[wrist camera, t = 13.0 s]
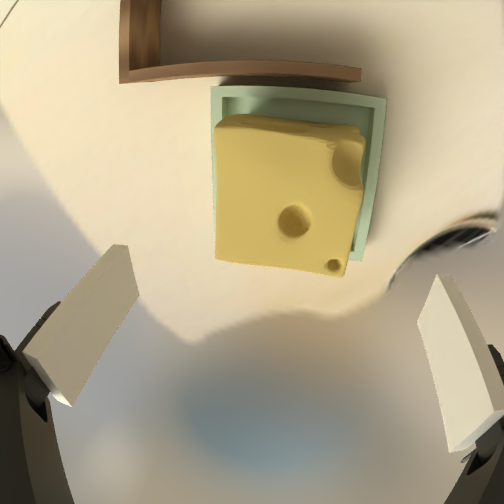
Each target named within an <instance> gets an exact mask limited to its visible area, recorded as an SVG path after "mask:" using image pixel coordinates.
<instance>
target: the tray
mask: <svg viewBox="0 0 504 504" xmlns="http://www.w3.org/2000/svg"><path fill="white" fill-rule="evenodd" d="M386 101H387V99H385V98H379V97H373V96H367V95H361V94H354V93H347V92H339V91H330V90H320V89H309V88H295V87H277V86H211V145H212V182H213V209H214V231H215V241H216V195H217V179H216V161H215V147H214V128H215V126H216V125H217V123H218V122H219V121H221V120H222V119H223V118H225V117H227V116H230V115H236V114H256V115H263V116H270V117H279V118H287V119H295V120H303V121H310V122H317V123H327V124H344V125H352V126H355V127H357V128H358V129H359V131H360V132H359V135H361V136H363V137H364V139H365V148H364V153H363V157H362V162H361V170H360V177H361V182H362V186H363V197H362V203H361V207H360V211H359V215H358V219H357V223H356V228H355V232H354V237H353V241H352V245H351V249H350V254H349V258H348V260H353V261H362V258H363V254H364V249H365V245H366V240H367V235H368V230H369V225H370V220H371V214H372V209H373V203H374V197H375V191H376V185H377V179H378V172H379V165H380V158H381V150H382V142H383V133H384V123H385V113H386Z"/></svg>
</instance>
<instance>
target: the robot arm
mask: <svg viewBox="0 0 504 504" xmlns="http://www.w3.org/2000/svg"><path fill="white" fill-rule="evenodd" d="M138 297H139V292H138V288H137V284H136V280H135V276H134V272H133V267H132V263H131V259H130V254H129V250H128V246H125V245H115V244H113V245H112V246H111V247H110V249H109V250H108V251H107V252H106V253H105V254H104V255H103V256H102V257H101V258H100V259H99V260H98V261H97V262H96V263H95V265H94V266H93V267H92V268H91V269H90V270H89V271H88V272H87V273H86V275H85V276H84V277H83V278H82V279H81V280H80V281H79V282H78V283H77V285H76V286H75V287H74V288H73V289H72V290H71V292H70V293H69V294H68V295H67V296H66V297H65V299H64V300H63V301H62V302H57V303H56V304H54V305H53V306H51V307H50V308H49V309H48V310H47V311H46V312H45V313H44V314H43V316H42V317H41V319H39V321H38V322H37V323H36V326H34V327H33V328H32V329H31V331H30V332H29V333H28V334H27V336H26V337H25V338H24V340H23V341H22V342H21V343H20V345H19V346H18V347H17V349H16V350H15V351H14V350H13V349H12V347H11V346H10V344H9V343H8V341H7V339H6V338H5V337H4V336H2V335H0V504H74V501H73V498H72V495H71V492H70V489H69V486H68V482H67V479H66V475H65V472H64V468H63V465H62V460H61V456H60V452H59V448H58V443H57V439H56V434H55V429H54V424H53V418H52V413H51V406H50V401H49V399H48V397H47V396H48V394H49V392H51V393H52V394H53V396H54V397H55V398H56V400H58V401H60V402H62V403H64V404H66V405H69V406H71V407H72V406H73V404H74V402H75V400H76V399H77V397H78V395H79V393H80V391H81V390H82V388H83V386H84V384H85V383H86V381H87V379H88V377H89V376H90V374H91V372H92V371H93V369H94V367H95V366H96V364H97V362H98V360H99V359H100V357H101V355H102V354H103V352H104V350H105V349H106V347H107V345H108V344H109V342H110V341H111V339H112V337H113V336H114V334H115V333H116V331H117V329H118V328H119V326H120V325H121V323H122V321H123V320H124V318H125V317H126V315H127V314H128V312H129V310H130V309H131V307H132V306H133V304H134V303H135V301H136V300H137V298H138ZM417 325H418V328H419V331H420V334H421V338H422V341H423V344H424V347H425V351H426V354H427V357H428V361H429V365H430V368H431V372H432V375H433V379H434V383H435V387H436V391H437V395H438V400H439V403H440V408H441V413H442V417H443V422H444V427H445V433H446V437H447V444H448V449H449V452H455V451H460V450H465V449H467V448H468V447H469V446H470V445H472V444H473V443H474V442H476V447H477V448H476V449H475V450H473V451H472V452H471V453H470V454H468V455H467V456H466V457H464V458H463V460H462V461H461V463H464V462H465V461H466V460H468V459H469V460H468V462H467V464H466V466H465V468H464V470H463V472H462V474H461V476H460V477H459V479H458V481H457V483H456V484H455V486H454V488H453V490H452V492H451V493H450V495H449V496H448V498H447V499H446V501H445V503H444V504H504V362H503V359H502V357H501V355H500V353H499V352H498V351H497V350H496V349H495V348H494V346H493V345H487V344H486V341H485V339H484V337H483V335H482V333H481V331H480V328H479V326H478V324H477V322H476V320H475V318H474V316H473V314H472V312H471V310H470V309H469V306H468V304H467V303H466V301H465V299H464V297H463V295H462V293H461V291H460V290H459V288H458V286H457V284H456V282H455V281H454V279H453V277H452V275H445V274H437V275H436V278H435V280H434V283H433V285H432V288H431V290H430V293H429V295H428V298H427V300H426V303H425V305H424V307H423V310H422V312H421V314H420V316H419V318H418V321H417Z"/></svg>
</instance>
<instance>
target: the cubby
mask: <svg viewBox="0 0 504 504" xmlns="http://www.w3.org/2000/svg"><path fill="white" fill-rule="evenodd" d="M160 11H161V0H121V2H120V23H119V84H123V83H137V82H153V81H162V80H171V79H182V78H195V77H214V76H279V77H298V78H311V79H322V80H331V81H340V82H348V83H350V82H359V81H361V68H354V67H347V66H340V65H331V64H321V63H310V62H296V61H274V60H231V61H209V62H195V63H183V64H174V65H165V66H160Z"/></svg>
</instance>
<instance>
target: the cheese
mask: <svg viewBox="0 0 504 504" xmlns="http://www.w3.org/2000/svg"><path fill="white" fill-rule="evenodd" d="M359 132H360V131H359V129H358V128H357V127H355V126H352V125H344V124H327V123H317V122H310V121H303V120H295V119H287V118H279V117H270V116H263V115H256V114H236V115H230V116H227V117H225V118H223V119H222V120H221V121H219V122H218V123H217V125H216V126H215V128H214V147H215V161H216V179H217V195H216V241H215V258H216V259H217V260H221V261H227V262H232V263H239V264H247V265H258V266H268V267H277V268H286V269H293V270H300V271H306V272H312V273H317V274H322V275H328V276H333V277H340V278H342V277H343V276H344V273H345V270H346V266H347V262H348V258H349V254H350V249H351V245H352V241H353V237H354V232H355V228H356V223H357V219H358V215H359V211H360V207H361V203H362V197H363V186H362V182H361V177H360V170H361V162H362V157H363V153H364V148H365V139H364V137H363V136H361V135H359Z"/></svg>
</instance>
